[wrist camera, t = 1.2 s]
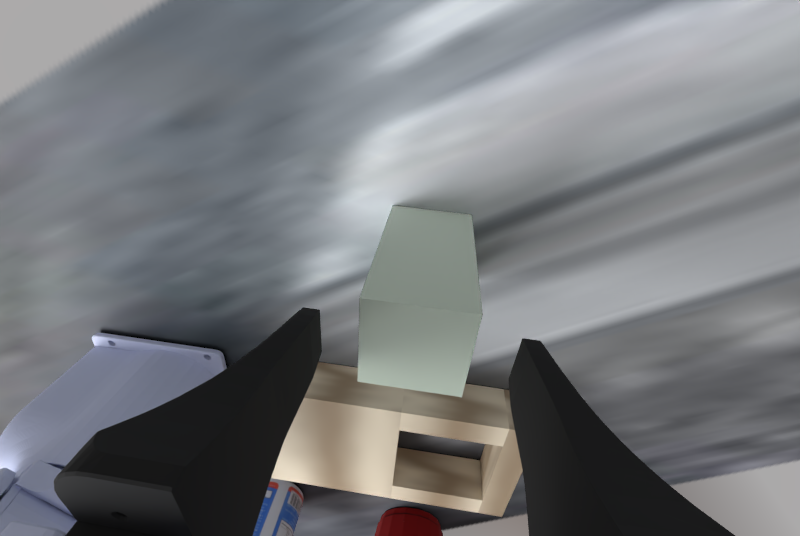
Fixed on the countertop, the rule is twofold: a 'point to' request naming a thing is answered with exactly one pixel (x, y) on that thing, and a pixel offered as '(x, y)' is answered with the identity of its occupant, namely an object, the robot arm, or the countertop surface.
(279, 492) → the pill bottle
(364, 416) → the socket rail
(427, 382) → the square peg
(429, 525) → the plastic cup
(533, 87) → the countertop surface
